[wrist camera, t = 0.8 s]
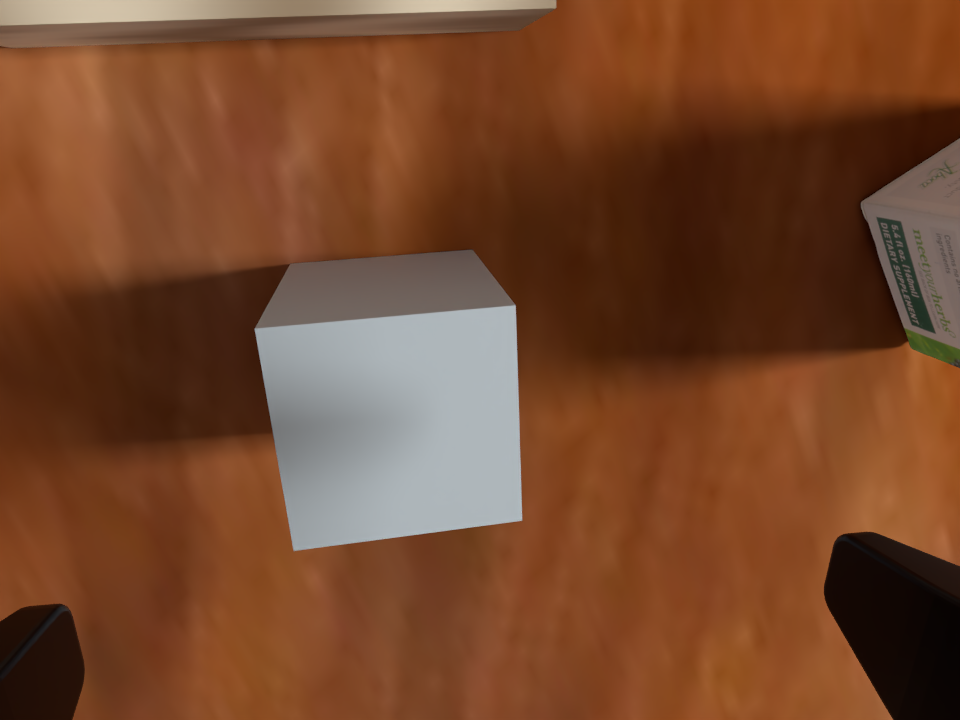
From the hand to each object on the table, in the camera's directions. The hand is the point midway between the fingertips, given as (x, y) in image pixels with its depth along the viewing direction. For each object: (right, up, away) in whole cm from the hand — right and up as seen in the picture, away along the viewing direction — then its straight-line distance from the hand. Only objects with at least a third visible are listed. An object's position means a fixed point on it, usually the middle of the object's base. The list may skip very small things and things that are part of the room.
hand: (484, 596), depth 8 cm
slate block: (-3, +3, +11) cm, 12 cm away
